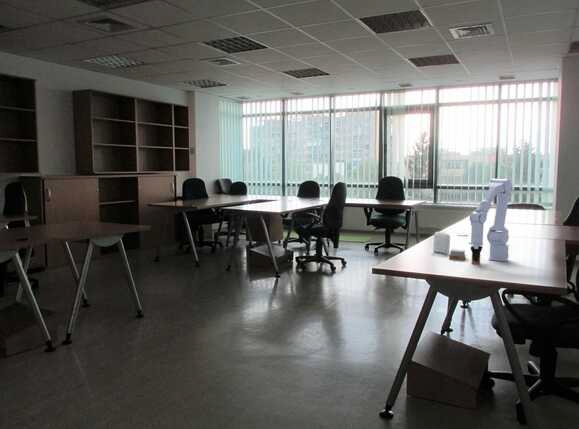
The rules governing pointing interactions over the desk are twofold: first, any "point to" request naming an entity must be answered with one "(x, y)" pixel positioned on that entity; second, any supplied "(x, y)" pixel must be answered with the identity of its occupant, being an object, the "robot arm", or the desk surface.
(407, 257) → the desk surface
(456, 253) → the grey slab
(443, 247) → the photo printer
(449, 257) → the walnut slab
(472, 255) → the red block
